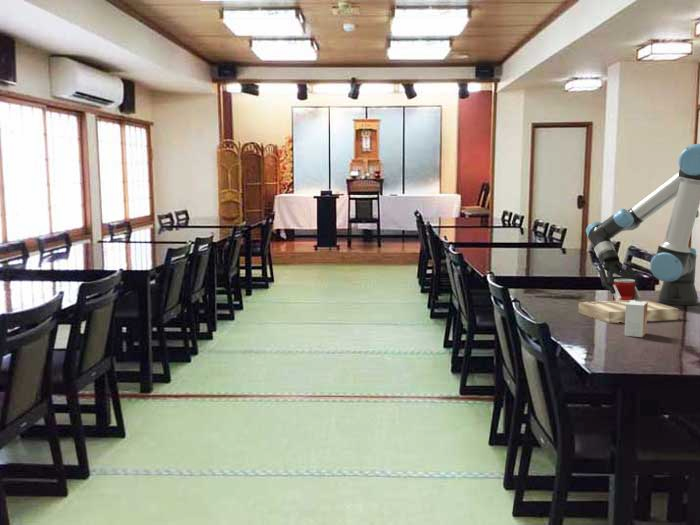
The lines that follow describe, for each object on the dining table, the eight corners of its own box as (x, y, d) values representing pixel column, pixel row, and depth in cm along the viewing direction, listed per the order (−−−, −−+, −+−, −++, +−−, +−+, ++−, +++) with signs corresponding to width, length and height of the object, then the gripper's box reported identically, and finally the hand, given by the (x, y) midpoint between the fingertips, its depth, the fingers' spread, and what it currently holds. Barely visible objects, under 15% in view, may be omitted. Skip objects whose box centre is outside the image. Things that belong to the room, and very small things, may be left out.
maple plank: (643, 309, 265) (643, 299, 265) (678, 319, 246) (678, 308, 246) (578, 312, 260) (578, 302, 259) (608, 323, 240) (609, 311, 240)
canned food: (637, 308, 267) (638, 281, 266) (616, 308, 268) (618, 281, 266) (629, 305, 275) (630, 278, 274) (609, 305, 275) (610, 278, 274)
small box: (642, 337, 217) (644, 305, 216) (624, 335, 220) (625, 303, 219) (646, 333, 224) (648, 301, 223) (628, 331, 227) (630, 300, 226)
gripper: (625, 259, 286) (647, 303, 273) (580, 260, 282) (601, 305, 268) (633, 248, 281) (656, 292, 267) (588, 249, 276) (609, 294, 263)
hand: (628, 299), depth 268 cm, fingers closed on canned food, 8 cm apart
